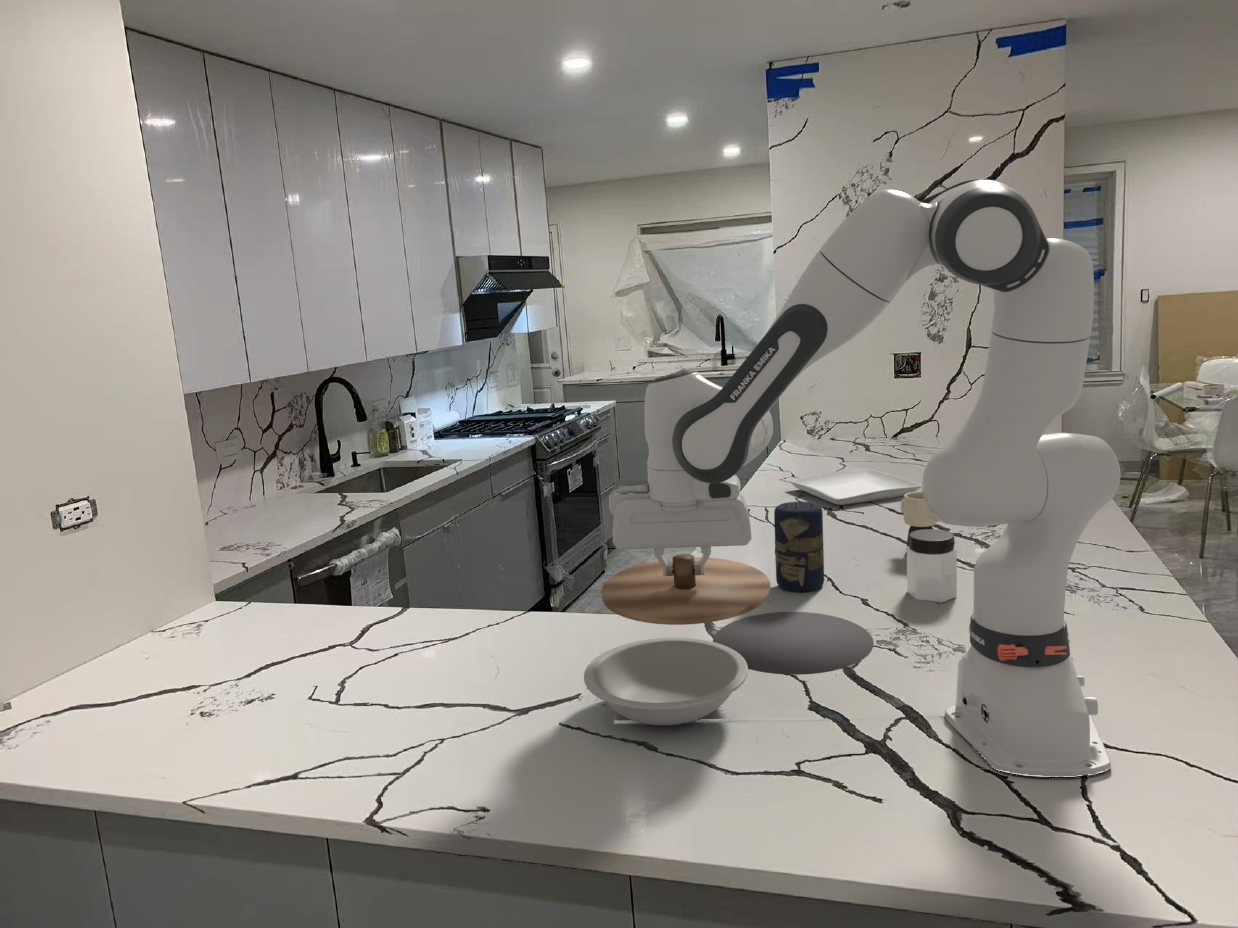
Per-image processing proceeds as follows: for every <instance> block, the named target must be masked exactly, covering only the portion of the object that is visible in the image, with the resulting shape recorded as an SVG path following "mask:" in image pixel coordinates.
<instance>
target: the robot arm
mask: <svg viewBox="0 0 1238 928" xmlns="http://www.w3.org/2000/svg"><path fill="white" fill-rule="evenodd" d="M1093 263H1094V262H1093V259H1092V257H1091V255H1090V253H1089V252H1088V251H1087V249H1086V248H1084V247H1083V246H1081V245H1080V244H1078V243H1076V242H1073V241H1070V240H1067V239H1062V238H1055V237H1054V238H1051V237H1050V238H1047V237H1046V235H1045V234H1044V231H1043V229H1042V227H1041V225H1040V222H1039V220H1038V217H1037V216H1036V212H1034V209H1033V208H1032V206H1031V205H1030V204H1029V202H1028V201H1027V200H1026V199H1025V198H1024V197H1023V196H1022V195H1020V194H1019V192H1017V190H1015V189H1013V188H1012V187H1011V186H1009V185H1007V184H1006V183H1004V182H1000V181H996V180H993V179H992V180H991V179H970V180H969V179H968V180H965V181H962V182H959V183H957V184H954V185H952V186H949V187H948V188H945V189H944V190H941V191H939V192H938V193H935V194H932V195H931V196H928V197H926V198H924V199H922V200H921V201H920V200H918V199H917V198H915V197H914V196H912V195H910V194H908V193H906V192H903V191H900V190H897V189H881V190H877V191H875V192H873V193H872V194H870V195H868V196H867V197H866V198H865V200H863V201H862V202H861V203H860V204H859V205H858V206H857V207H856V208H854V210H853V211H852V212H851V213H850V214H849V215H847V217H846V218H845V219H844V220H843V221H842V222H841V223H840V224H839V225H838V226H837V228H836V229H835V230H834V231H833V232H832V234H831V235H830V236H829V237H828V238H827V239H826V241H825V242H824V244H823V245H822V246H821V247H820V249H819V250H818V251H817V253H816V254H815V255H814V257H813V258H812V259H811V261H810V263H809V264H808V265H807V267H806V268H805V269H804V272H803V273H802V274H801V276H800V277H799V279H798V281H797V282H796V284H795V286H794V288H793V289H792V291H791V293H790V294H789V296H788V298H787V299H786V301H785V303H784V305H783V306H782V308H781V309H780V311H779V312H778V314H777V315H776V317H775V319H774V321H773V322H772V323H771V325H770V327H769V328H768V330H767V332H766V333H765V334H764V336H763V337H762V338H761V340H760V341H759V342H758V344H757V345H756V346H755V347H754V348H753V350H752V351H751V352H750V353H749V355H748V356H747V357H746V358H745V359H744V361H743V362H742V363H741V364H740V366H738V368H737V369H736V371H735V372H734V373H733V374H732V375H731V377H730V378H729V379H728V380H727V382H726V383H725V384H724V386H721V385H719V384H716V383H714V382H712V381H710V380H708V379H707V378H706V377H704V376H703V375H702V374H701V373H700V372H698V371H696V370H692V369H691V370H690V369H689V370H683V371H677V372H673V373H669V374H666V375H662V376H659V377H656V378H655V379H653V380H652V381H650V383H649V384H648V385H647V386H646V390H645V394H644V396H645V397H644V408H643V409H644V412H643V413H644V414H643V415H644V417H643V418H644V435H645V436H644V438H645V440H646V443H647V447H648V458H647V461H646V465H647V466H646V468H647V469H646V470H647V483H648V484H642V485H632V486H627V485H622V486H618V487H617V489H616V488H615V489H614V490H612V491H611V492H610V493H609V497H608V508H609V511H610V513H611V515H613V522H612V523H613V524H612V543H613V545H614V547H616V548H617V550H641V549H642V550H644V549H653V553H654V554H653V555H654V557H655V559H656V561H659V562H660V564H661V565H662V566H663V576H673V574H674V573H673V562H668V561H667V560H666V559H667V558H666V557H665V555H664V554H665V551H666V550H665V549H676V548H678V549H679V548H700V551H701V553H700V554H702V555H701V557H700V558H701V559H700V561H694V562H695V563H694V569H695V571H694V574H695V575H705V567H704V564H705V563H706V561H707V559H708V558H710V556H711V554H712V548H713V547H736V546H738V547H739V546H747V545H748V544H749V543H750V542H751V540H752V528H751V521H750V519H751V518H750V515H749V514H750V513H749V510H748V505H747V501H746V499H745V497H744V495H743V494H742V493H741V481H740V478H739V477H738V476H737V475H736V474H737V473H738V472H739V471H740V470H741V468H742V467H744V466H746V465H747V464H749V463H750V462H751V461H752V460H754V459H755V458H757V457H758V456H759V455H760V454H761V453H762V452H763V451H764V450H766V448H768V446H769V445H770V443H771V442H772V440H773V437H774V432H775V421H774V418H773V414H772V412H771V408H772V407H773V406H774V405H775V404H776V402H777V401H778V400H779V398H780V397H782V395H783V394H784V393H785V391H786V390H787V389H788V388H789V387H790V385H792V383H793V382H794V381H795V380H796V378H797V377H799V376H800V375H801V374H802V373H803V372H805V370H807V369H808V368H809V367H810V366H812V365H813V364H814V363H816V362H818V361H819V360H820V359H822V358H824V357H825V356H827V355H828V354H830V353H832V352H834V351H835V350H838V349H839V348H841V347H843V346H844V345H846V344H848V343H850V342H851V341H852V340H853V339H855V338H856V337H857V336H859V334H861V333H862V332H863V331H865V330H866V329H867V328H868V327H869V326H870V325H871V324H872V323H873V322H875V320H876V319H877V318H878V317H879V316H880V315H881V314H882V313H883V312H884V310H885V309H886V308H887V307H888V306H889V304H890V303H891V302H892V301H893V299H894V298H895V297H896V296H897V294H898V293H899V292H900V291H901V289H902V288H903V287H904V285H905V284H906V283H907V281H909V280H910V279H911V278H912V277H913V276H915V274H917V273H918V272H920V271H921V270H924V269H925V268H928V267H930V266H937V265H941V266H943V267H944V268H945V270H947V271H948V272H949V273H951V274H952V275H953V276H954V277H957V278H958V279H960V280H962V281H965V282H968V283H972V284H974V285H978V286H982V287H984V288H985V287H986V288H989V289H992V291H993V297H994V298H993V300H994V302H993V303H994V309H993V310H994V311H993V315H992V316H993V317H992V322H991V330H990V338H989V346H988V353H987V359H986V367H985V372H984V378H983V383H982V387H981V390H980V393H979V396H978V398H977V401H976V403H975V405H974V408H973V409H972V411H971V413H970V415H969V416H968V418H967V420H966V421H965V422H964V424H963V425H962V427H961V428H960V430H959V431H958V433H956V435H955V436H954V437H952V439H951V440H950V441H949V442H948V443H947V444H946V445H945V446H944V447H942V448H940V449H939V451H937V452H935V453H934V454H933V455H932V456H931V457H930V458H929V459H928V462H927V463H926V465H925V468H924V470H923V474H922V477H921V478H922V479H921V485H922V487H921V492H923V496H924V499H925V502H926V504H927V506H928V508H929V509H930V511H931V512H932V513H933V514H934V515H935V517H937V518H938V519H939V520H940V521H941V522H942V523H943V524H945V525H950V526H959V527H960V526H962V527H974V528H984V527H986V528H987V527H992V526H1000V525H1006V527H1005V529H1004V531H1003V532H1002V534H1001V535H1000V536H999V538H998V539H997V540H996V541H995V542H994V543H992V545H990V546H989V547H988V548H986V549H985V550H984V551H983V552H982V553H981V554H980V555H979V556H978V558H977V559H976V561H975V563H974V568H973V613H972V614H971V615H970V619H969V621H970V622H969V625H968V633H969V643H970V647H969V649H968V651H967V652H966V653H965V654H964V655H963V656H962V657H961V659H959V661H958V665H957V666H958V669H957V681H956V695H955V696H956V699H955V704H954V705H951V706H949V707H947V708H946V709H945V711H944V719H945V720H946V722H948V723H949V725H951V726H952V727H953V728H954V730H955V731H956V732H957V731H958V732H959V733H960V734H961V735H962V736H963V737H964V738H965V739H966V740H967V741H968V742H969V743H970V744H971V745H972V746H973V747H974V748H975V749H976V750H977V751H978V752H977V751H976V750H975V749H974V748H973V747H972V746H971V745H970V744H969V743H968V742H967V741H966V740H965V739H964V738H963V737H962V736H961V735H960V734H959V733H958V732H957V733H958V734H959V735H960V736H961V737H962V738H963V739H964V740H965V741H966V742H967V743H968V744H969V745H970V746H971V747H972V748H973V749H974V750H975V751H976V752H977V754H978V753H980V754H981V755H982V756H983V758H985V760H986V761H987V762H988V763H990V765H991V766H993V767H994V768H995V769H998V770H1003V771H1009V772H1011V773H1013V772H1014V773H1018V774H1019V773H1020V774H1028V775H1041V776H1042V775H1043V776H1051V777H1052V776H1054V777H1055V776H1059V777H1061V776H1062V777H1063V776H1077V775H1082V774H1083V775H1085V774H1086V775H1087V774H1095V773H1097V772H1100V771H1105V770H1106V769H1109V768H1110V767H1111V768H1112V763H1111V759H1110V757H1109V754H1108V751H1107V749H1106V747H1105V745H1104V743H1103V740H1102V738H1101V735H1100V733H1099V731H1098V728H1097V726H1096V723H1095V720H1094V719H1093V717H1092V716H1097V715H1098V714H1099V705H1098V703H1099V702H1098V700H1097V697H1095V696H1085V695H1084V694H1083V690H1082V687H1084V686H1085V677H1084V675H1079V674H1077V672H1076V669H1075V666H1074V661H1073V660H1074V658H1073V657H1072V656H1071V649H1070V643H1071V642H1070V634H1069V631H1068V625H1067V622H1066V621H1065V601H1066V586H1067V577H1068V570H1069V565H1070V562H1071V559H1072V556H1073V553H1074V550H1075V549H1076V546H1077V544H1078V542H1079V539H1080V538H1081V536H1082V535H1083V532H1084V531H1085V529H1086V527H1087V526H1088V524H1089V523H1090V522H1091V520H1092V519H1093V518H1094V517H1095V515H1096V514H1097V513H1098V512H1099V511H1100V510H1101V509H1102V508H1104V507H1105V506H1106V505H1107V504H1108V503H1110V502H1111V501H1112V500H1113V498H1115V495H1116V494H1117V491H1118V489H1119V486H1120V482H1121V467H1120V462H1119V459H1118V457H1117V454H1116V453H1115V452H1114V450H1113V448H1112V447H1111V446H1110V445H1109V443H1107V442H1106V441H1105V440H1104V439H1102V438H1101V437H1098V436H1095V435H1088V434H1083V433H1082V434H1081V433H1071V432H1056V433H1055V432H1053V433H1045V432H1046V431H1047V430H1048V428H1049V427H1050V426H1051V425H1052V423H1053V422H1055V420H1057V419H1058V418H1059V417H1060V416H1062V415H1063V414H1065V413H1066V412H1068V411H1069V410H1070V409H1071V408H1072V407H1073V406H1074V405H1075V404H1076V403H1077V402H1078V400H1079V399H1080V397H1081V395H1082V392H1083V385H1084V382H1085V381H1084V379H1085V374H1086V369H1087V368H1086V366H1087V360H1088V354H1089V348H1090V342H1091V338H1092V337H1091V335H1092V328H1093V321H1094V308H1095V307H1094V306H1095V305H1094V304H1095V279H1094V278H1095V277H1094V276H1095V275H1094V264H1093ZM1044 433H1045V434H1044ZM983 758H982V759H983ZM985 760H984V761H985ZM986 761H985V762H986ZM987 762H986V763H987ZM988 763H987V764H988ZM990 765H989V766H990ZM991 766H990V767H991ZM995 769H994V770H995Z"/></svg>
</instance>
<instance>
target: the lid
mask: <svg viewBox="0 0 1238 928" xmlns="http://www.w3.org/2000/svg"><path fill="white" fill-rule="evenodd" d="M700 559H701V557H699V556H698V557H697V556H696V557H695V556H694V555H693V554H690V553H680V554H675V555H674V556H672V558H666V560H667V561H668V562H673V573H674V574H673V576H663V566H662V565H661V564H660V562H659V561H658V560H653V561H649V562H645V563H641V564H637V565H634V566H631V567H629V568H625V569H623V570H621V571H618V572H617V573H615V574H614V575H612V576H610V577H609V578H608V579H607V580H606V581H605V582H604V583H603V585H602V587H601V590H600V593H601V594H600V595H601V601H602V603H603V605H604V606H605V607H606V608H607V610H610V611H611V612H612V613H614V614H616V615H618V616H620V617H623V618H626V619H628V620H633V621H636V622H642V623H646V624H654V625H655V624H656V625H667V626H668V625H670V626H673V625H676V626H677V625H678V626H679V625H681V626H682V625H698V624H706V623H715V622H719V621H725V620H729V619H733V618H735V617H738V616H741V615H744V614H747V613H749V612H751V611H753V610H755V609H757V608H758V607H760V606H762V604H764V603H765V602H766V601H767V599H768V598H769V596H770V594H771V582H770V581H771V580H770V578H769V577H768V576H767V575H766V574H765V573H764V572H763V571H761V570H760V569H758V568H756V567H754V566H751V565H750V564H746V563H742V562H739V561H735V560H730V559H723V558H713V557H709V558H708V559H707V561H706V563H705V564H704V567H705V575H695V574H694V571H695V569H694V563H695V562H694V561H700Z"/></svg>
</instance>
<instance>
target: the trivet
mask: <svg viewBox="0 0 1238 928" xmlns="http://www.w3.org/2000/svg"><path fill="white" fill-rule="evenodd" d="M712 642H715V643H718V644H721V645H724V646H727V647H729V648H731V649H733V650H734V651H736V652H737V653H739V654H740V655H741V656H742V657H743V658H744V659H745V661H746V663H747V666H748V670H751V671H752V670H753V671H755V672H762V673H767V674H776V675H777V674H778V675H814V674H823V673H827V672H832V671H838V670H842V669H844V668H847V667H850V666H851V667H852V666H853V665H855V664H857V663H859V662H861V661H863V660H864V659H866V658H867V657H868V656H869V655H870V654H871V652H872V651H873V649H874V639H873V637H872V635H871V633H869V632H868V631H867V630H866V629H865V628H863V627H862V626H860V625H859V624H857V623H855V622H854V621H853V622H852V621H850V620H848V619H845V618H843V617H838V616H834V615H830V614H826V613H825V614H824V613H817V612H808V611H807V612H806V611H775V612H767V613H760V614H754V615H750V616H746V617H742V618H740V619H737V620H734V621H731V622H730V623H727V624H726V625H724V626H722V627H721V628H720V629H719V630H718V631H717V632H716V633H715V634H714V636H713V638H712Z"/></svg>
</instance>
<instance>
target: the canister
mask: <svg viewBox="0 0 1238 928" xmlns="http://www.w3.org/2000/svg"><path fill="white" fill-rule="evenodd" d="M773 513H774V514H773V516H774V520H773V521H774V545H775V546H774V556H775V576H776V577H775V579H776V583H777V586H778V587H780V588H781V589H783V590H785V591H790V592H796V593H797V592H798V593H802V592H804V593H808V592H811V591H816V590H818V589H820V588H822V587H823V585H824V584H825V583H824V582H825V555H824V554H825V553H824V551H825V550H824V520H823V518H824V517H823V516H824V515H823V513H824V512H823V508H822V506H821V505H819V504H817V503H814V502H810V501H800V500H797V501H790V502H783V503H780V504H778V505H776V507H775V508H774V512H773Z"/></svg>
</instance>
